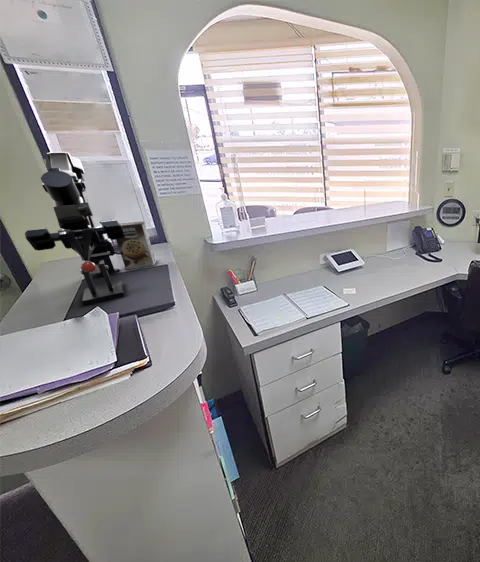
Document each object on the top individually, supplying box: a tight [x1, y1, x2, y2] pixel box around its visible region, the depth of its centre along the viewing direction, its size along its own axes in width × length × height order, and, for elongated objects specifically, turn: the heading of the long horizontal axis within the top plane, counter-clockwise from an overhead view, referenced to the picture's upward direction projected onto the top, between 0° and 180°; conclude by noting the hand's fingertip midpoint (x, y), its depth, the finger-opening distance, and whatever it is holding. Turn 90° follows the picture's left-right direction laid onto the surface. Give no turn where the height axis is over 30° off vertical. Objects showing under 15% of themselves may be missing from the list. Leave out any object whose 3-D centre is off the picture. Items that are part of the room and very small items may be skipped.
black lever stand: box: [79, 260, 125, 306], centre depth 91 cm, size 12×9×10 cm
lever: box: [80, 261, 101, 275], centre depth 85 cm, size 14×3×3 cm, turn 39°
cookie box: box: [115, 221, 157, 270], centre depth 116 cm, size 9×6×16 cm
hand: (86, 260), depth 81 cm, fingers closed
